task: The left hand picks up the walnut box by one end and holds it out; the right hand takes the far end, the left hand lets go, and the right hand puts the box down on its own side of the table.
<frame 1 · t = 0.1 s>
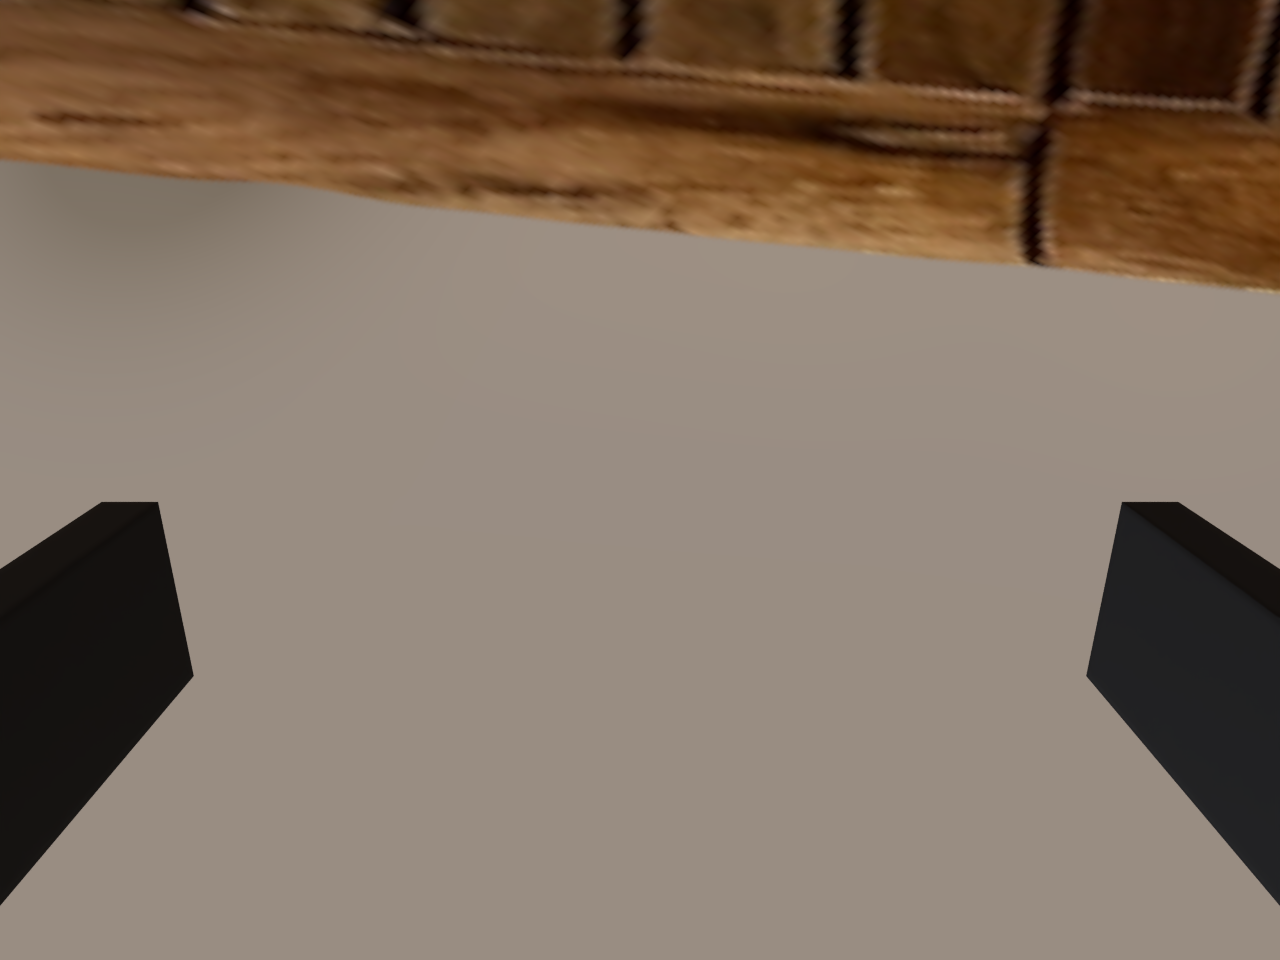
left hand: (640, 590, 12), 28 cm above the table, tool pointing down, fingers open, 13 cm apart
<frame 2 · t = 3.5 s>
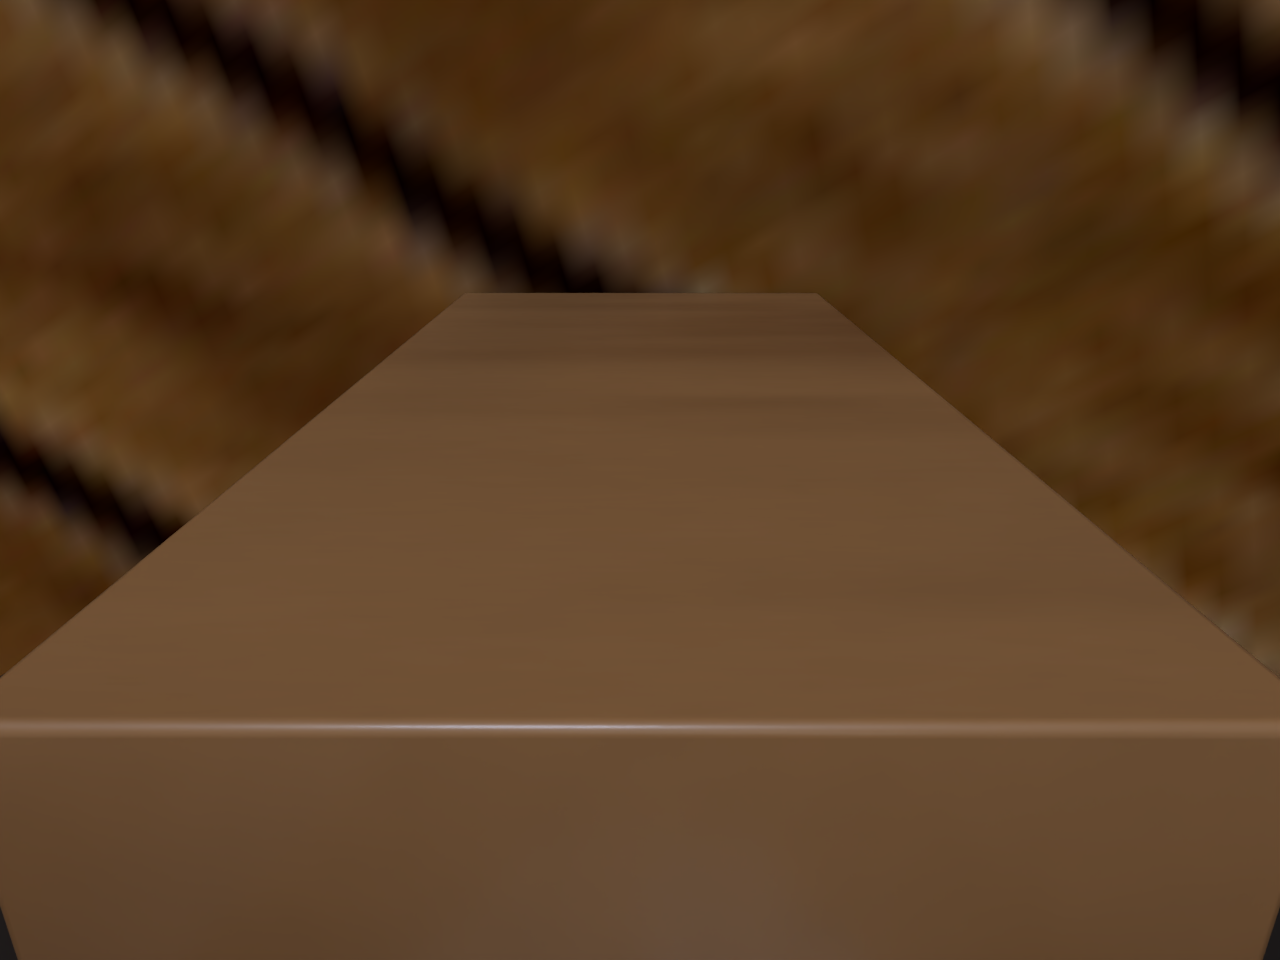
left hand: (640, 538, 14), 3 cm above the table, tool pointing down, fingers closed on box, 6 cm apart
box: (640, 767, 19), on the table, touching left hand
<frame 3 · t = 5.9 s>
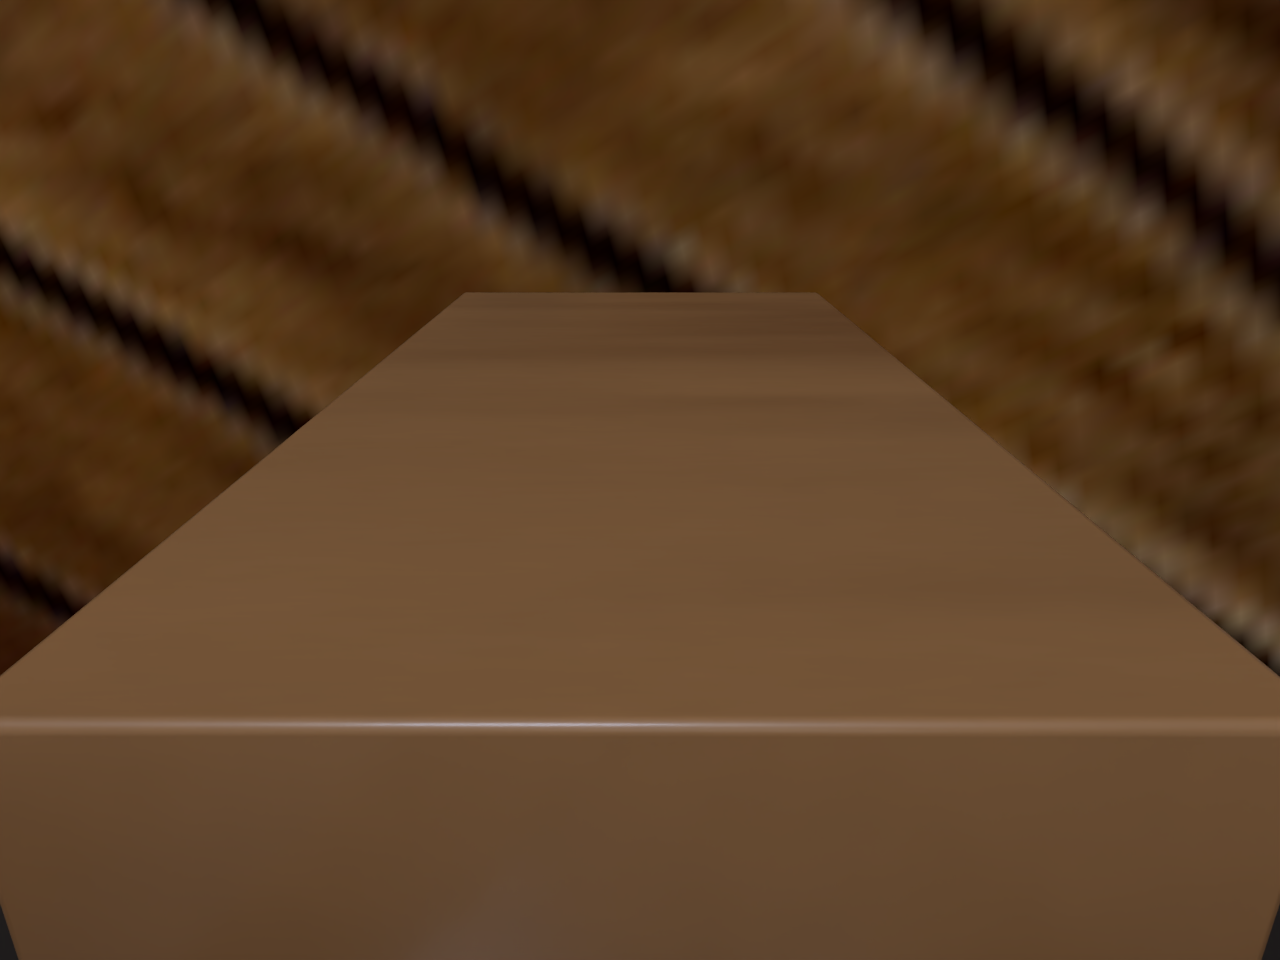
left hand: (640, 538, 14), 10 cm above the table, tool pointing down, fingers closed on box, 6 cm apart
box: (640, 767, 19), point 7 cm above the table, touching left hand
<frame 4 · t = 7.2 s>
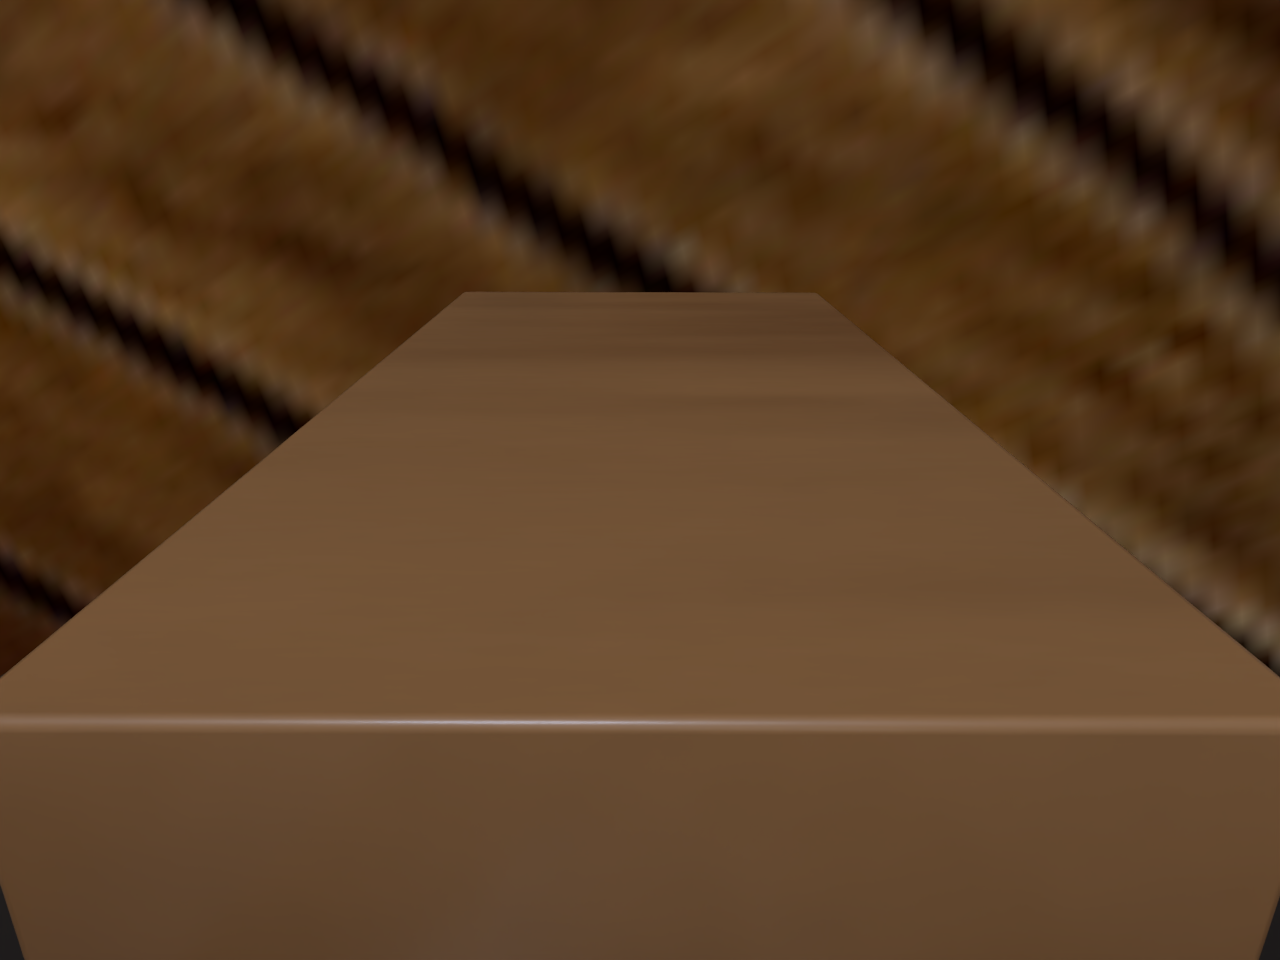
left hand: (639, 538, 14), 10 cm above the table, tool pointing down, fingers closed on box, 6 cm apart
box: (639, 766, 19), point 7 cm above the table, touching left hand, right hand
when the left hand's fingers open (10 cm above the table, at t = 8.3 s): box stays where it is, held by the right hand.
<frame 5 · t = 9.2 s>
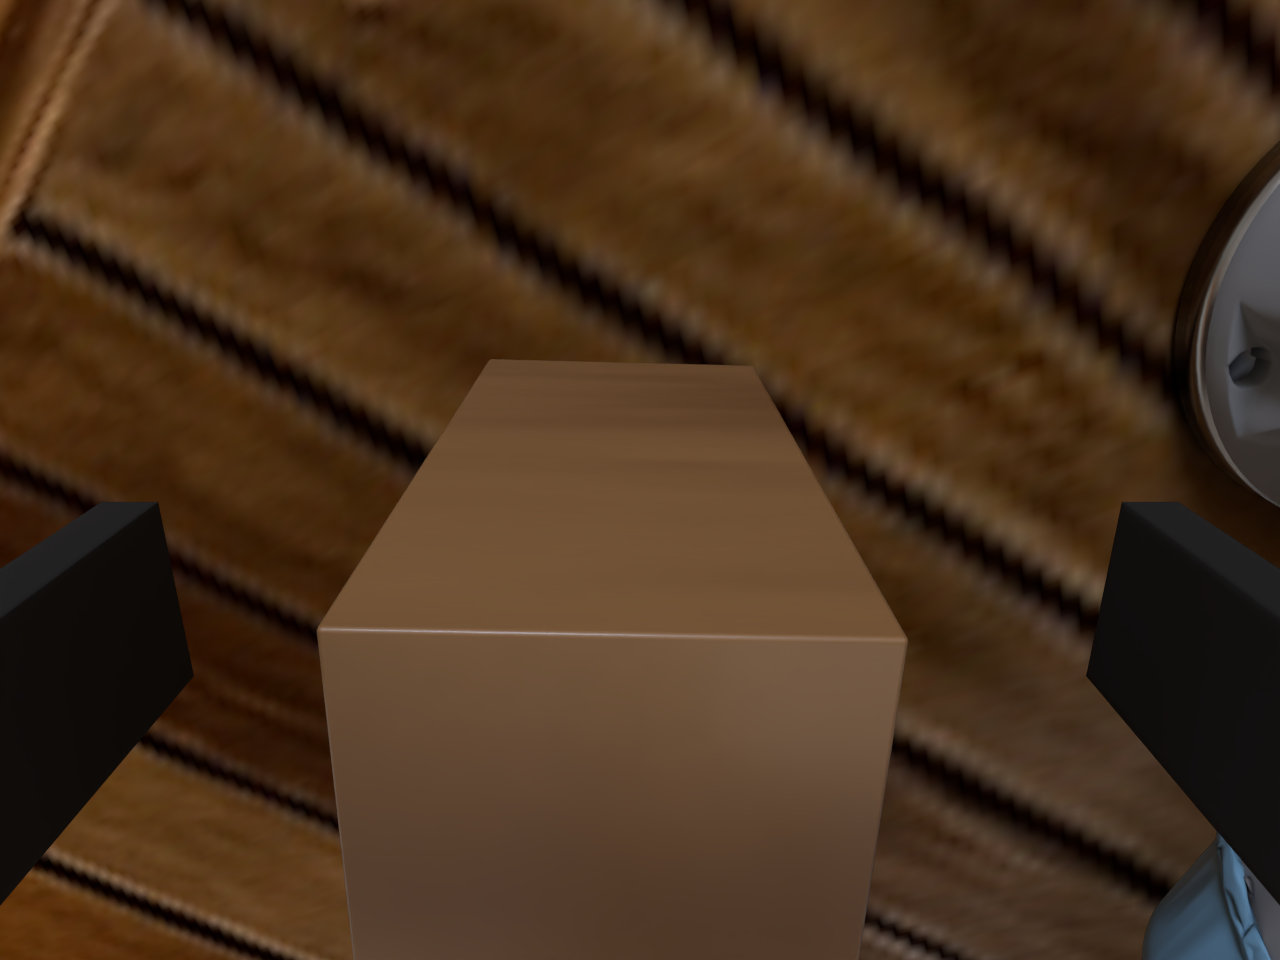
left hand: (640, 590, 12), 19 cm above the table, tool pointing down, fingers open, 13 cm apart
box: (613, 722, 25), point 10 cm above the table, touching right hand
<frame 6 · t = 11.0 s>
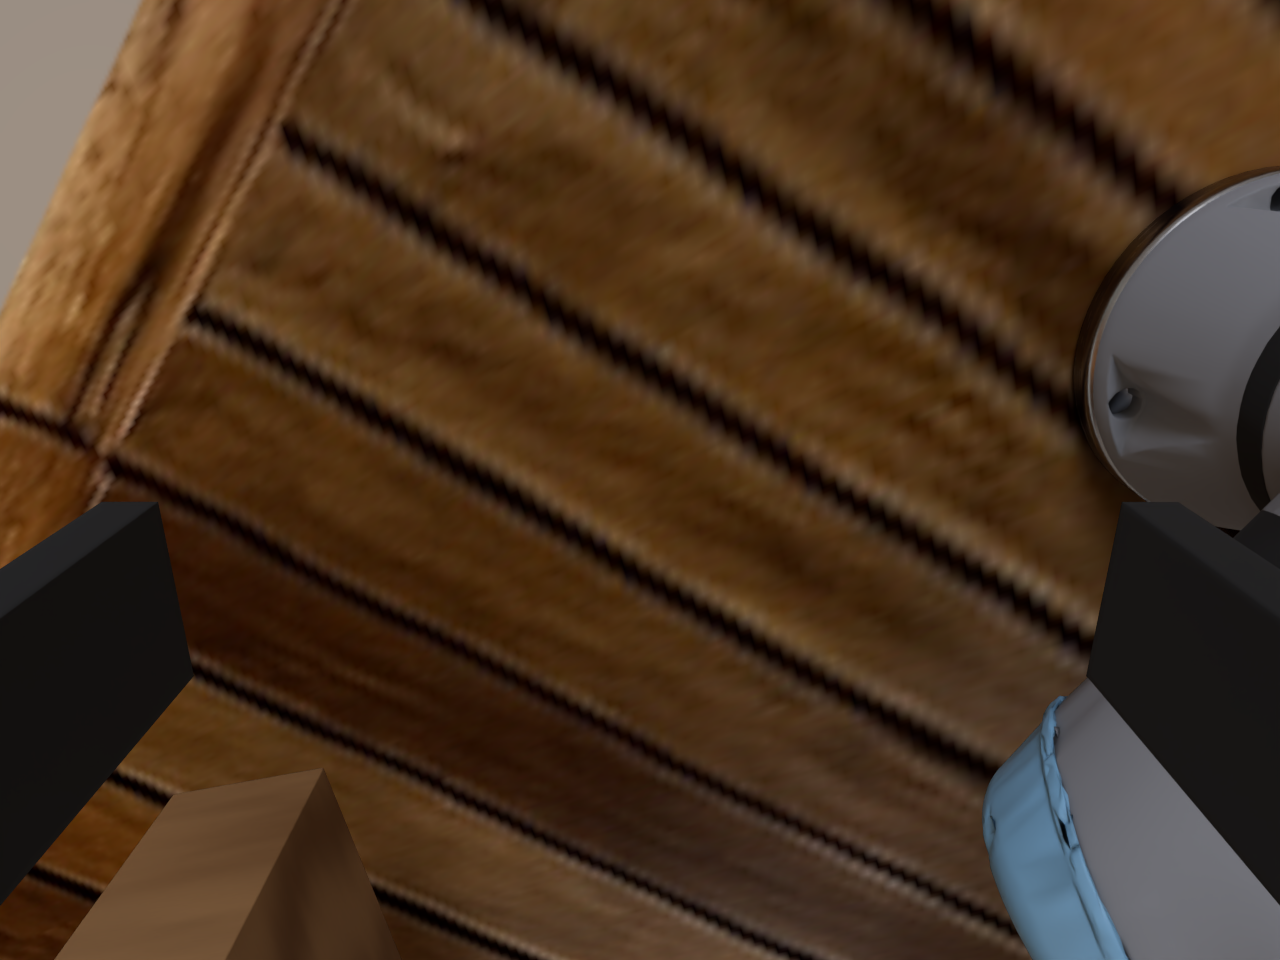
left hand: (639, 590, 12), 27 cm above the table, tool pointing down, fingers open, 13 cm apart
when the right hand's fingers open (8 cm above the table, at t = 12.3 s): box moves 1 cm, on the table.
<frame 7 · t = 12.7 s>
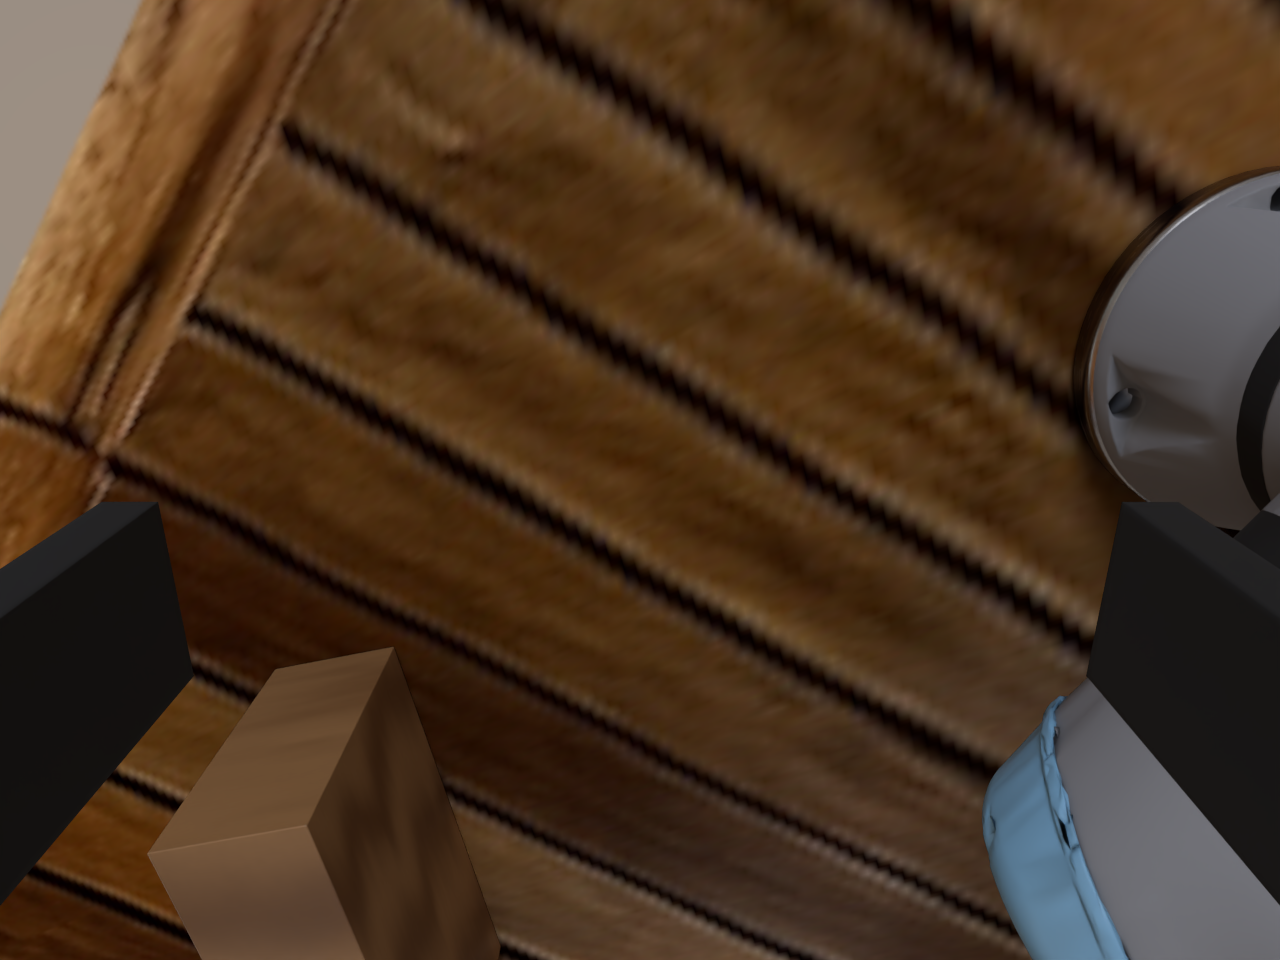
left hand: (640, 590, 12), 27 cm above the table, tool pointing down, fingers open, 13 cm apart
box: (395, 816, 48), on the table
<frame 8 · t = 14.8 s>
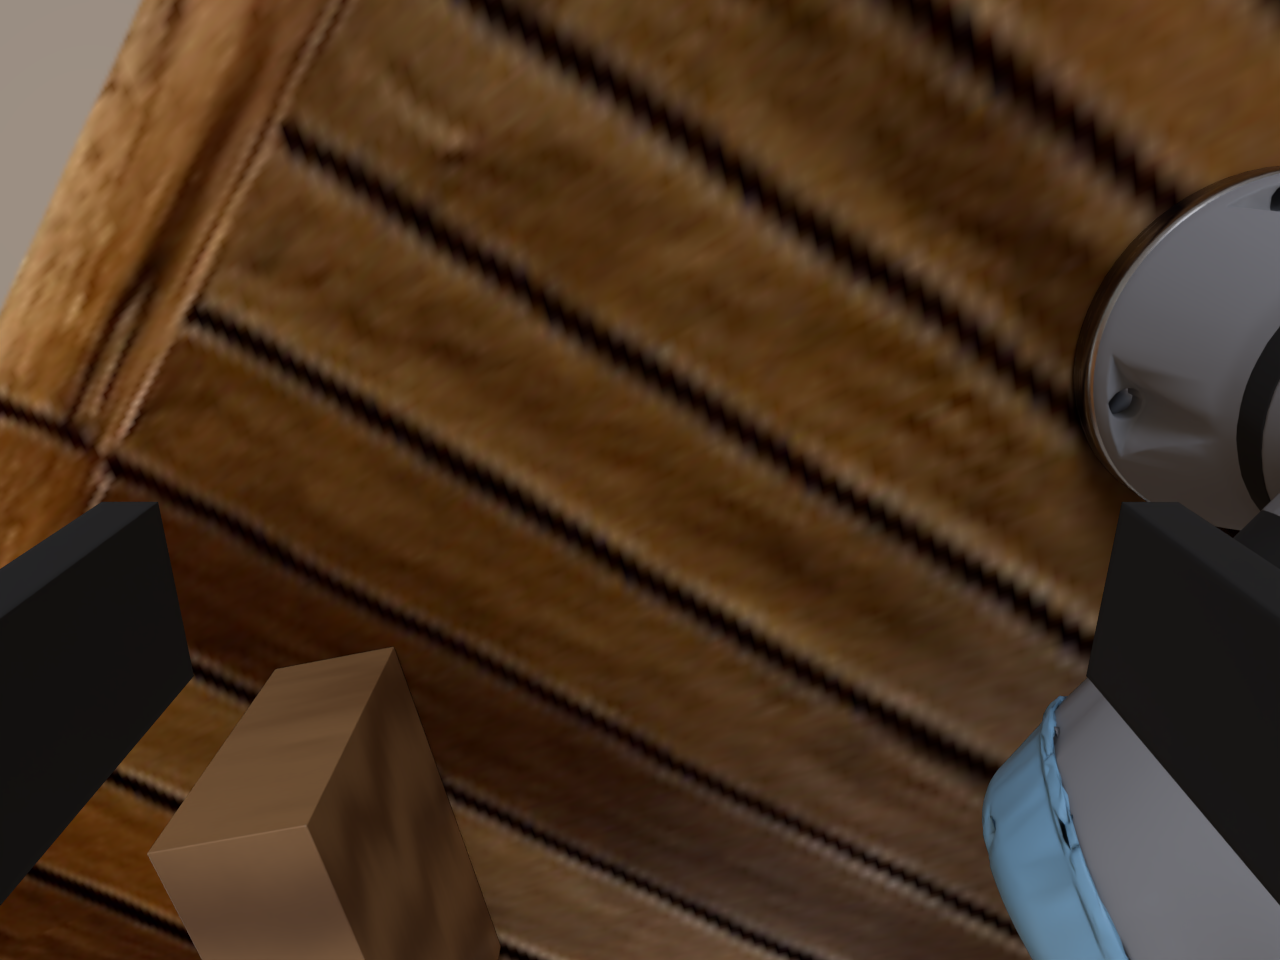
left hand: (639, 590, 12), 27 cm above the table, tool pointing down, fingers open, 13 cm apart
box: (395, 816, 48), on the table
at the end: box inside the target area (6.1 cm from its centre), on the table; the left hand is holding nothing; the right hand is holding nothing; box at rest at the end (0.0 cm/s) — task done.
